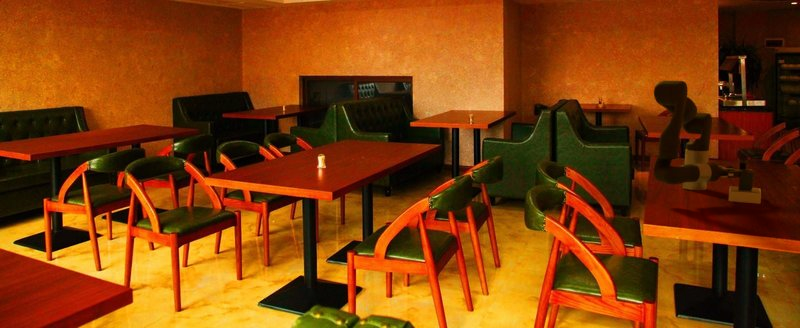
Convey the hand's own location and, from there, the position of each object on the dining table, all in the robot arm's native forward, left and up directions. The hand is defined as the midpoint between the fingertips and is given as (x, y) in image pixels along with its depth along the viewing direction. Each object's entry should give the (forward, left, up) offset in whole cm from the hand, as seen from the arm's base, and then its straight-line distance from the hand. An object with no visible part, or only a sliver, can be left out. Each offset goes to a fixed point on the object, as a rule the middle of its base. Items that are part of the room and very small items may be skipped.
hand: (739, 170), depth 249 cm
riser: (+2, +2, -12) cm, 12 cm away
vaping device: (+2, +2, -8) cm, 8 cm away
